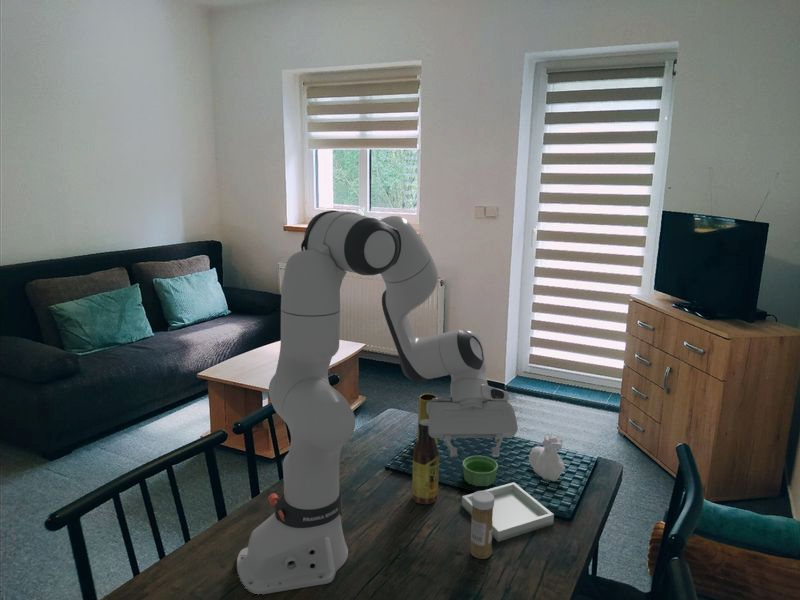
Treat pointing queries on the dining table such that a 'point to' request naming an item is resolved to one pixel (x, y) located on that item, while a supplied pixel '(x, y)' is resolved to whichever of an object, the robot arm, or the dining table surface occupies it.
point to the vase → (424, 409)
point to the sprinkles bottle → (481, 524)
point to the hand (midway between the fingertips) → (474, 456)
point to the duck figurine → (547, 458)
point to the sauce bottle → (425, 466)
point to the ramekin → (480, 470)
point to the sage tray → (513, 511)
